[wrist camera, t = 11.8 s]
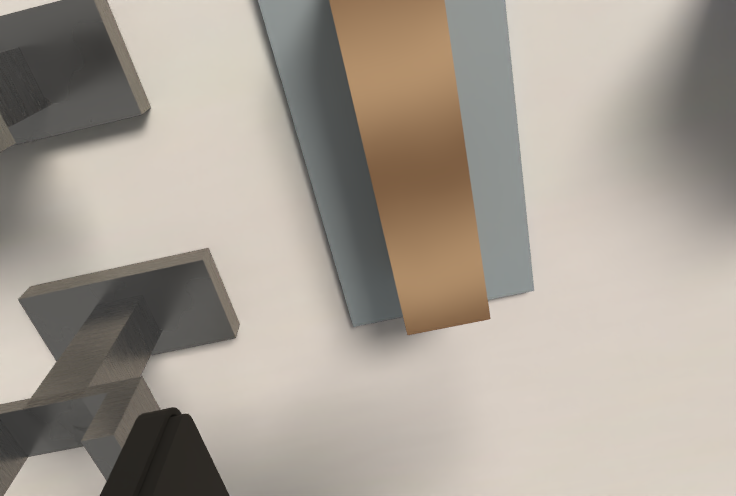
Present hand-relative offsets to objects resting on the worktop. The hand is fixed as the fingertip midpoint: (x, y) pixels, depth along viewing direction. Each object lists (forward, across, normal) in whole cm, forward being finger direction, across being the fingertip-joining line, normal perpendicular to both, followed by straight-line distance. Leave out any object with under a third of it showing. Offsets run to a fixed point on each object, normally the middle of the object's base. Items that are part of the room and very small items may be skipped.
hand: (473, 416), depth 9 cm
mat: (+14, 0, -1) cm, 14 cm away
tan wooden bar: (+13, 0, -1) cm, 13 cm away
